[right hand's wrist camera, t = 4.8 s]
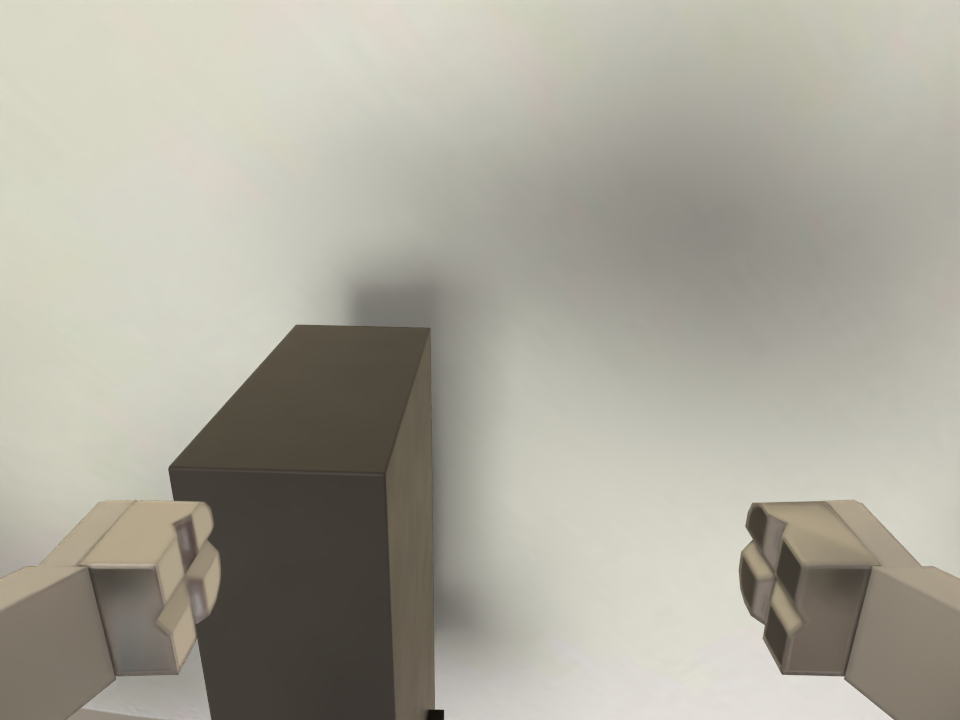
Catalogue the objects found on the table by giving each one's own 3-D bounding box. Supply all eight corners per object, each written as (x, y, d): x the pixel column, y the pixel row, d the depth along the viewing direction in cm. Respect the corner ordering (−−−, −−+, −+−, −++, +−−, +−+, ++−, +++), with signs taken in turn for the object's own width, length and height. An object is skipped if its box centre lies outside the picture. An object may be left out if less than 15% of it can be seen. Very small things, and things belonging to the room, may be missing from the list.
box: (295, 323, 30) (166, 467, 19) (430, 327, 30) (385, 473, 18) (330, 729, 39) (258, 997, 27) (435, 732, 39) (406, 1004, 27)
